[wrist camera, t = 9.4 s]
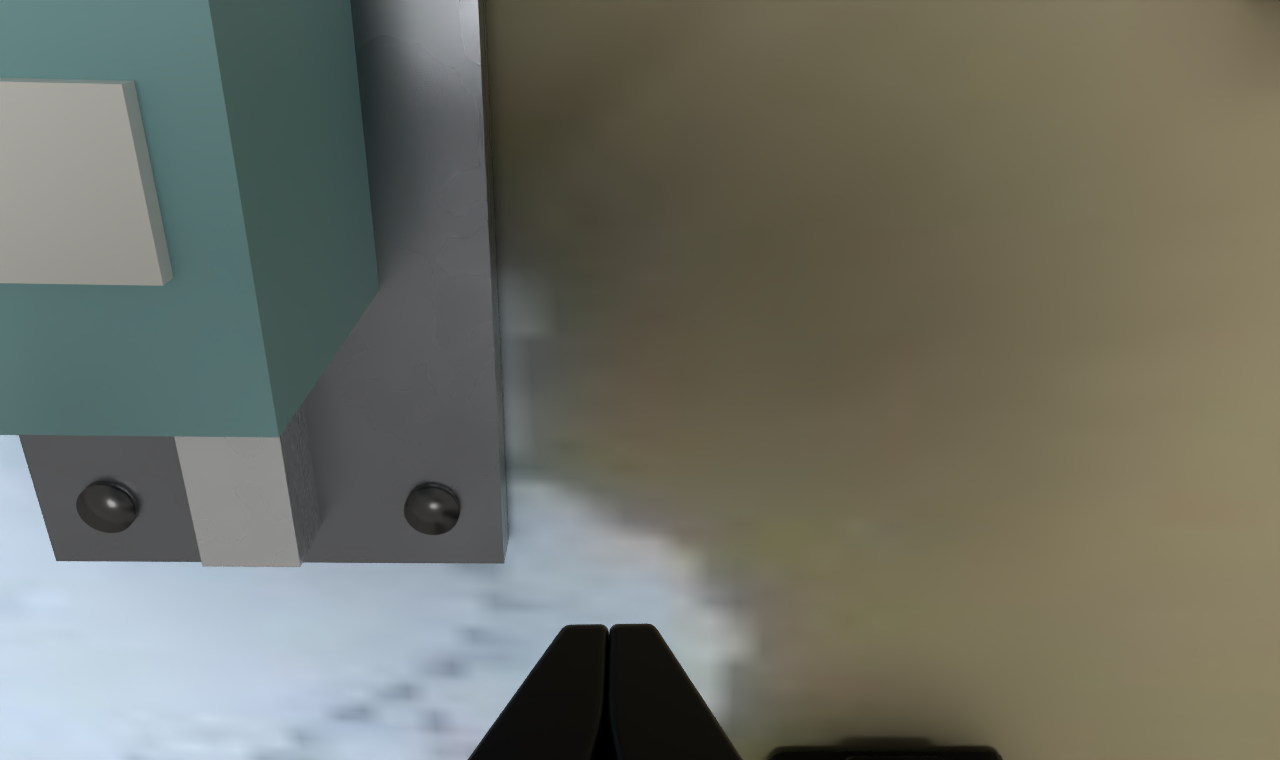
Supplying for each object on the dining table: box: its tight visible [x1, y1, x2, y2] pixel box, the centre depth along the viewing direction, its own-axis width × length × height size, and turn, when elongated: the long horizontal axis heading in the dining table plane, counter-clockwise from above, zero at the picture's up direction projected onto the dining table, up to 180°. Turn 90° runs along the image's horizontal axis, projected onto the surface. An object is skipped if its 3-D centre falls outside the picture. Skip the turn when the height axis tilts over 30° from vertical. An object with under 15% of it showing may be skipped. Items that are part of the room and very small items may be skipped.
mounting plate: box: [19, 0, 509, 567], centre depth 16 cm, size 20×10×2 cm, turn 179°
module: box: [0, 0, 379, 438], centre depth 14 cm, size 7×6×6 cm
